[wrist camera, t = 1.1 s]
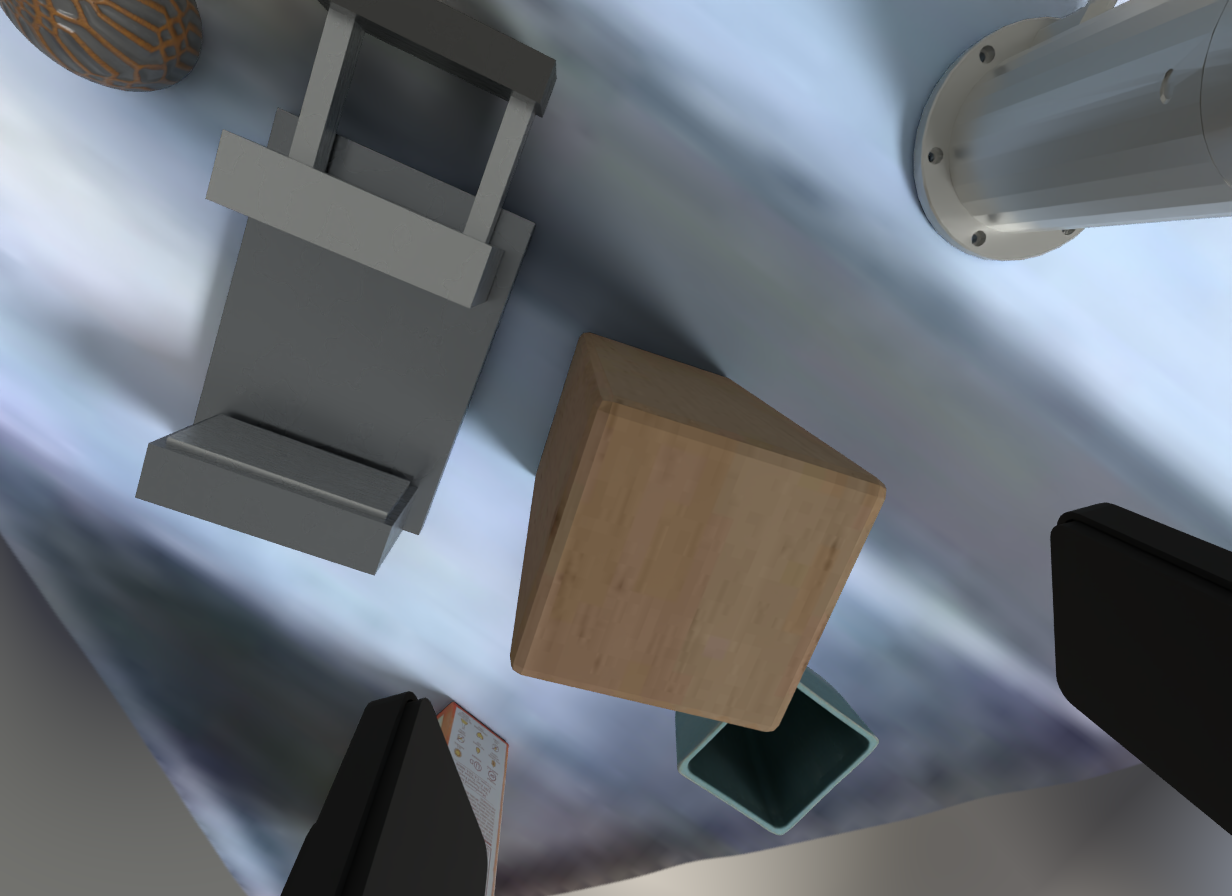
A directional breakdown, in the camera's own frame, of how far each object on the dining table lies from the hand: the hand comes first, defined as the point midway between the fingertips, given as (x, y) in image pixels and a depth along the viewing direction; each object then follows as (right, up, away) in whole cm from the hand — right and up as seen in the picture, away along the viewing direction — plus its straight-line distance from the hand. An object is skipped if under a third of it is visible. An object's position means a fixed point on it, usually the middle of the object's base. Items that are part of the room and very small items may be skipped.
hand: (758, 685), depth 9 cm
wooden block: (-1, +5, +30) cm, 31 cm away
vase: (-26, +25, +23) cm, 42 cm away
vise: (-17, +10, +27) cm, 34 cm away
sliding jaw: (-12, +19, +23) cm, 33 cm away
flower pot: (+7, -12, +36) cm, 38 cm away
